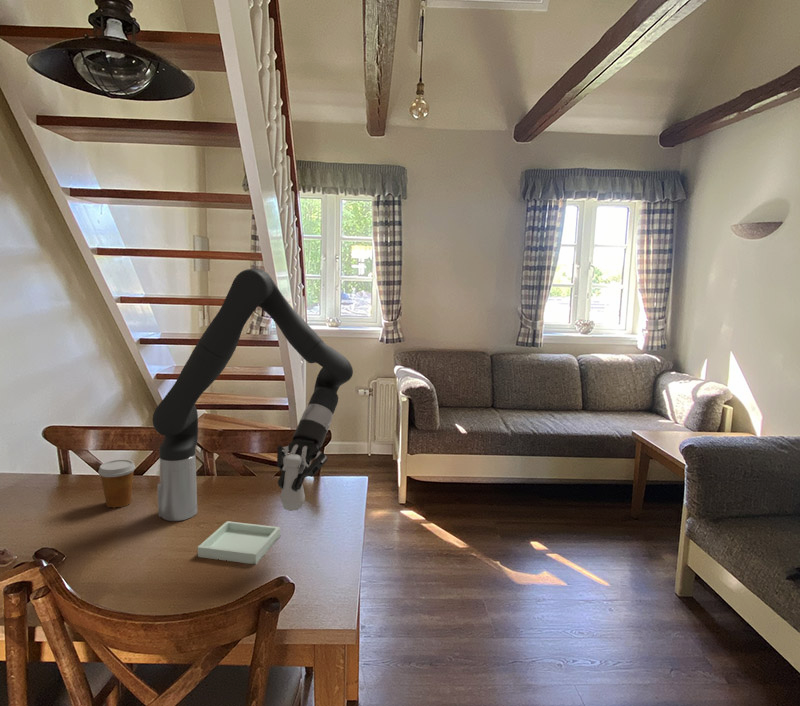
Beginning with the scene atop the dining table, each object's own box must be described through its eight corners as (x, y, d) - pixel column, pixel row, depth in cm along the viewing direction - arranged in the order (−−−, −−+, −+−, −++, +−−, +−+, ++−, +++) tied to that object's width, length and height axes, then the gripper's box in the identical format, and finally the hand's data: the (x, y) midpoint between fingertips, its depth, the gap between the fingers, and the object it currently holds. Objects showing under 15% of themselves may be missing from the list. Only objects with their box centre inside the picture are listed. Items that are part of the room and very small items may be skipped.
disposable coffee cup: (112, 513, 149) (109, 472, 147) (93, 505, 154) (91, 465, 152) (143, 502, 157) (142, 463, 155) (125, 494, 162) (123, 456, 160)
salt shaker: (309, 504, 130) (309, 453, 128) (297, 514, 125) (297, 461, 123) (288, 500, 132) (288, 450, 130) (275, 509, 127) (275, 457, 125)
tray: (197, 556, 127) (197, 547, 127) (227, 529, 141) (227, 521, 141) (256, 564, 125) (255, 554, 124) (280, 536, 138) (280, 527, 138)
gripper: (284, 414, 135) (255, 477, 125) (333, 421, 130) (307, 487, 120) (295, 429, 140) (269, 490, 131) (343, 436, 135) (319, 500, 126)
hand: (287, 488), depth 126 cm, fingers closed on salt shaker, 3 cm apart
